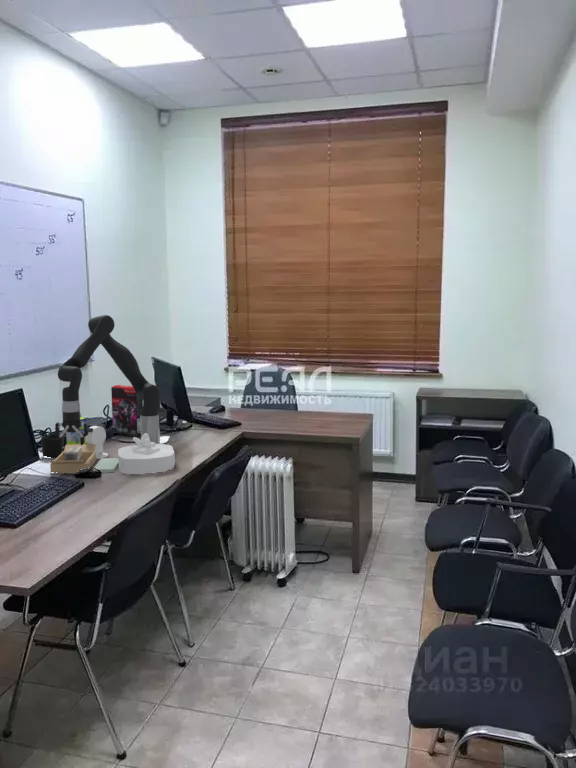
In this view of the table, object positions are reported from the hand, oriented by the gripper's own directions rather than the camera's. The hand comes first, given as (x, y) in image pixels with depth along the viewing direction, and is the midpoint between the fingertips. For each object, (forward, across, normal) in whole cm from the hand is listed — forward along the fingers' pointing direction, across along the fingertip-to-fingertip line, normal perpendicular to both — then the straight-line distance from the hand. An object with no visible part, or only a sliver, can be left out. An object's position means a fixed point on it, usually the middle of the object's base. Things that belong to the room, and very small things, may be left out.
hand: (72, 444), depth 287 cm
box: (+11, +7, -34) cm, 37 cm away
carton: (+11, 0, 0) cm, 11 cm away
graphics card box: (+10, -14, -64) cm, 66 cm away
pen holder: (+11, +15, -19) cm, 27 cm away
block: (+11, 0, 0) cm, 11 cm away
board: (+10, -15, -1) cm, 19 cm away
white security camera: (+11, -6, -20) cm, 23 cm away
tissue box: (+11, -33, -1) cm, 35 cm away
